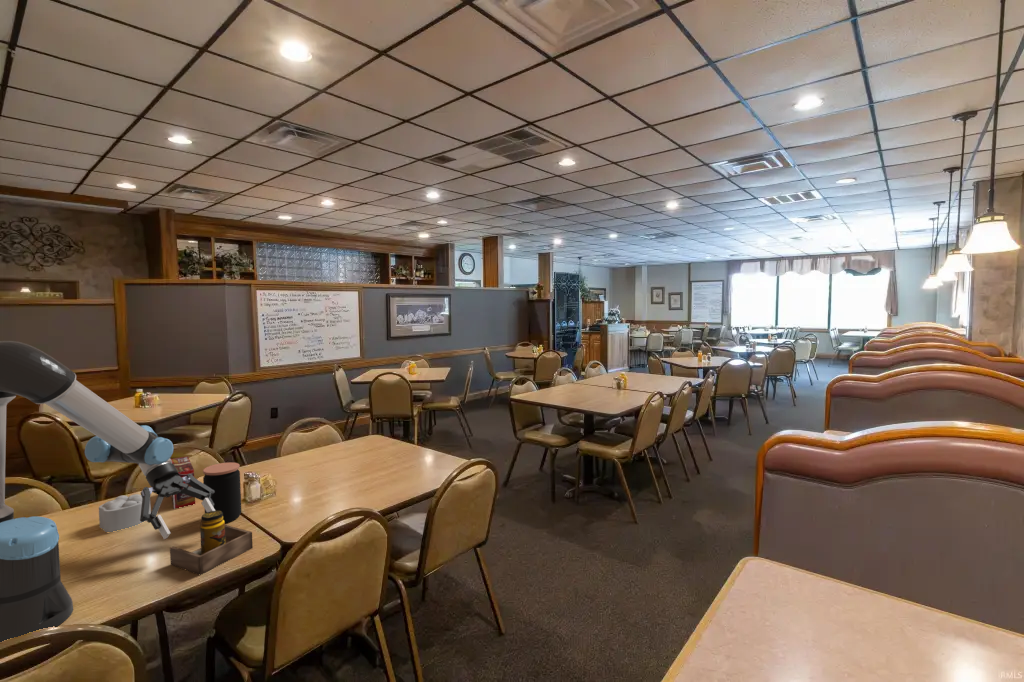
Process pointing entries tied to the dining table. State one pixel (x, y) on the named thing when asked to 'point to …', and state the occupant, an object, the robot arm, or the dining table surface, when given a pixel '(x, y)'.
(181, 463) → the ice cream box
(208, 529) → the condiment
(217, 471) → the coffee jar
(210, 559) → the caddy
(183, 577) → the dining table surface
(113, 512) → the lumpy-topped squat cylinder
